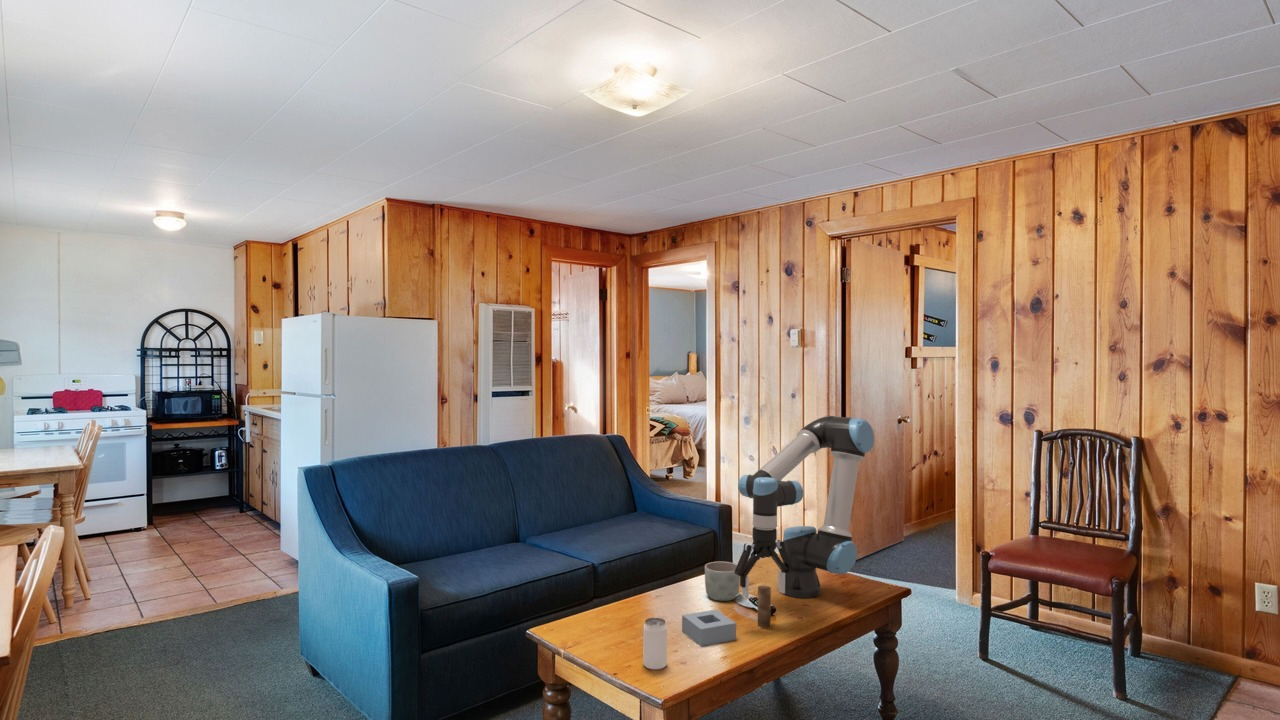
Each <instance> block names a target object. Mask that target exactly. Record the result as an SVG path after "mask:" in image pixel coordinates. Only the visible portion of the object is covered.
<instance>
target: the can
mask: <svg viewBox="0 0 1280 720" xmlns="http://www.w3.org/2000/svg"><path fill="white" fill-rule="evenodd" d="M644 622H645V623H644V625H643V630H642V631H643V632H642V633H643V634H642V635H643V636H642V637H643V639H642V640H643V641H642V642H643V644H642V646H643V647H642V648H643V651H642V652H643V653H642V654H643V657H642V658H643V659H642V661H643V662H642V663H643V666H644V667H645V668H646V669H648V670H652V671H658V670H663V669H665V667H666V666H667V665H668V664H667V663H668V661H667V660H668V656H667V655H668V626H667V624H666V620H665V619H664V618H661V617H649V618H647V619H645V620H644Z"/></svg>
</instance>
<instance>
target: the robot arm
mask: <svg viewBox="0 0 1280 720" xmlns="http://www.w3.org/2000/svg"><path fill="white" fill-rule="evenodd" d="M874 444H875V434H874V430H873V428H872V425H871V424H870V422H868V420H865V419H864V418H858V417H846V416H835V415H825V416H822V417H820V418H817V419H815V420H813V421H812V422H810V423H807V425H805V426H804V427H802V428H801V429H800V430H799V431H798V432H797V434H796V437H794V439H792V441H791V442H789V443H787V445H786V446H784V447H783V448H782V450H780V451H779V452H778V453H776V454H775V455H774V456H773V457H772V458H771V459H770V460H768V461H767V462H766V463H765V464H764V465H762V467H760V468H759V469H758V470H757V471H756V472H755V473H753V474H744V475H742V476H741V477H740V478H739V480H738V482H737V483H738V484H737V489H738V491H739V494H740V495H741V496H744V497H746V498H750V499H752V501H753V502H752V526H753V527H752V535H751V536H752V541H753V542H752V544H748V543H746V542H745V543H744V544H743V550H742V553H741V555H740V558H739V560H738V562H737V567H736V569H735V572H734V573H735V574H737V575H738V576H740V583H739V587H741V597H743V598H744V599H745V600H749V594H750V593H749V590H750V589H749V586H750V584H749V583H750V577H749V576H748V575H749V574H750V572H751V571H752V569H753V568H754V566H755V565H756V563H757V562H758V561H759V560H760V559H764V558H765V559H766V558H771V559H772V561H774V563H775V564H776V565H777V567H778V568H779V569H780V570H778V572H777V573H778V574H777V575H778V576H777V592H779V593H781V594H782V595H784V596H788V597H793V598H799V599H810V598H815V597H818V596H820V595H821V594H822V586H821V583H820V580H819V577H818V573H817V569H818V570H822V571H825V572H829V573H830V574H838V575H844V574H847V573H848V572H850V570H851V569H852V568H853V567H854V566H855V563H856V561H857V557H858V549H857V548H858V547H857V545H856V544H855V543H854V542H853V535H852V533H851V532H850V525H851V524H850V523H851V517H852V512H853V511H852V510H853V504H854V498H855V497H854V496H855V491H856V485H857V480H858V479H857V478H858V472H859V465H860V462H861V461H862V460H865V455H866V454H867V453H869V452H870V451H872V449H873V448H874ZM824 448H825V449H827V448H828V449H830V454H831V455H832V456H833V462H832V469H831V474H830V482H829V489H828V494H827V501H826V507H825V513H824V518H823V519H824V521H823V524H822V526H820V527H819V528H818V529H817V528H816V527H814V526H809V525H808V526H807V525H798V526H790V527H788V528H785V530H784V531H783V539H782V540H780V539H777V537H778V536H777V535H778V534H777V533H778V529H777V526H778V514H777V513H778V507H784V506H793V505H794V504H795V505H796V504H799V503H800V502H801V501H802V500H803V497H804V489H803V486H802V484H800V482H798V481H797V480H787V481H785V480H784V478H785V477H786V476H787V475H788V474H789V473H791V472H792V471H793V470H794V469H795V468H796V467H797V466H799V465H800V464H801V463H802V462H803V461H804V460H805V459H806V458H807V457H809V455H811V454H815V453H817V452H819V450H821V449H824ZM776 549H777V551H778V553H779V555H780V557H779V555H778V553H777V551H775V550H776Z"/></svg>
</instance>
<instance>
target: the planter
mask: <svg viewBox="0 0 1280 720" xmlns="http://www.w3.org/2000/svg"><path fill="white" fill-rule="evenodd" d="M737 564H738V563H737ZM737 564H736V563H734V562H730V561H718V560H717V561H713V562H712V561H711V562H708V563H706V564H704V581H705V582H704V583H705V584H704V585H705V592H706V595H707V596H708V597H709V598H710V599H712V600H714V601H719V602H729V601H732V600H734V599H736V598H735V596H736V595H737V594H738V595H739V592H740V576H738V575H737V574H735V573H734V572H735V569H736V567H737ZM738 595H737V596H738Z"/></svg>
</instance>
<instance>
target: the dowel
mask: <svg viewBox="0 0 1280 720" xmlns="http://www.w3.org/2000/svg"><path fill="white" fill-rule="evenodd" d="M771 589H772V587H771V586H770V585H759V586H758V587H757V627H758V628H762V629H770V628H771V617H772V616H771V613H772V612H771V611H772V610H771V608H772V607H771V605H772V604H771V603H772V596H771V595H772V593H771V592H772V590H771Z"/></svg>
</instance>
